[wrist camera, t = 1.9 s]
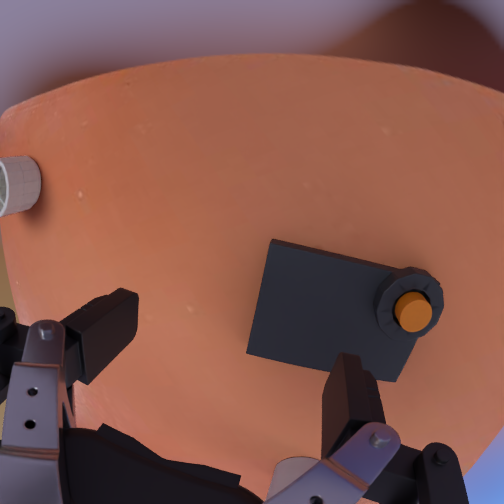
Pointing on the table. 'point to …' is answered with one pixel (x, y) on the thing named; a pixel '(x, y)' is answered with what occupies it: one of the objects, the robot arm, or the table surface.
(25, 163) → the white round cup
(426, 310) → the button
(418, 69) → the table surface
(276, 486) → the coffee cup
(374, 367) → the dark grey flat slab
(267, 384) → the table surface
